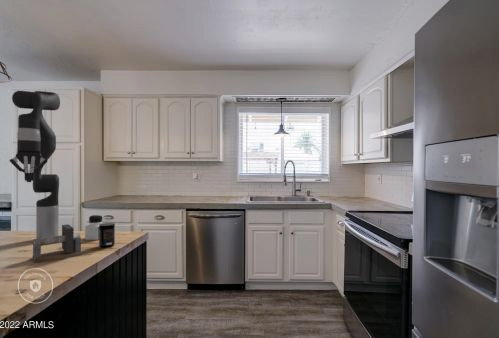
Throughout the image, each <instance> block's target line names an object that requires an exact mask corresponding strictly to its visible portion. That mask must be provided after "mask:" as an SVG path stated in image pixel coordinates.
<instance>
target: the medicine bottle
mask: <svg viewBox="0 0 499 338" xmlns="http://www.w3.org/2000/svg"><path fill="white" fill-rule="evenodd" d="M99 224H103V215H100V214H93V215H90V216H89V218H88V224H86V226H84V232H85V233H84V240H85V241H99Z"/></svg>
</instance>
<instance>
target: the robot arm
mask: <svg viewBox="0 0 499 338" xmlns="http://www.w3.org/2000/svg"><path fill="white" fill-rule="evenodd" d="M11 101H12V104H13V105H14V106H15V107H17V108H19V109H25V110H26V109H27V110H32V111H31V112H29V113H21V114H19V115H18V116H17V133H16V134H17V136H16V138H17V140H16V141H17V142H16V143H17V145H16V147H17V148H16V150H17V151H16V154H15V156H14V157H13V158H10V159H9V162H10V163H11V164H12V165H13V166H14V167H15V168H16V169H17V170H18V171H19V172H22V173H23V174H24V181H25V182H26V183H32V190H33V192H34V193H36V194H40V193H41V194H42V193H43V194H44V193H50V194H49V195H48V196H46V197H44V198H41V199H38V200H37V201H36V202H35V203H36V207H35V208H36V210H35V211H36V219H35V221H36V224H35V226H36V228H35V230H36V231H35V236H36V237H35V239H39V238H46V237H54V236H59V192H60V190H59V189H60V177H59V175H58V174H54V173H53V174H51V173H50V174H46V173H45V174H42V170H43V168H44V166H45V165H46V164H47V163H48V160H49V159H50V158H51V156H52V155H53V154H54V153H55V151H56V149H57V148H56V147H57V138H56V134H55V132H54V131H53V129H52V128H51V127H50V125H49V124H48V122H47V121H46V119H45V117H44V116H43V115H44V114H43V111H58V110H59V109H60V106H61V98H60V96H59V94H58V93H56V92H51V91H41V90H35V91H28V90H27V91H26V90H17V91H14V92H13V94H12V96H11ZM18 161H19V162H20V164H22V165H23V168H22V167H21V166H20V165H19V164H18Z"/></svg>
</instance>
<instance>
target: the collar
mask: <svg viewBox="0 0 499 338" xmlns="http://www.w3.org/2000/svg"><path fill="white" fill-rule="evenodd" d="M74 234H75V233H74V227H73V226H72V225H70V224H62V225H61V236H62V235H65V243H64V242H63V243H61V249H62V250H64V251H65V252H66V253H71V252H73V237H74Z"/></svg>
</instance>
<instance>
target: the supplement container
mask: <svg viewBox="0 0 499 338" xmlns="http://www.w3.org/2000/svg"><path fill="white" fill-rule="evenodd" d="M115 233H116V223H114V222H104V223H103V222H102V224H99V240H98V247H100V248H103V249H107V248H111V247H114V246H115V244H116V241H115V237H116V234H115Z"/></svg>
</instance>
